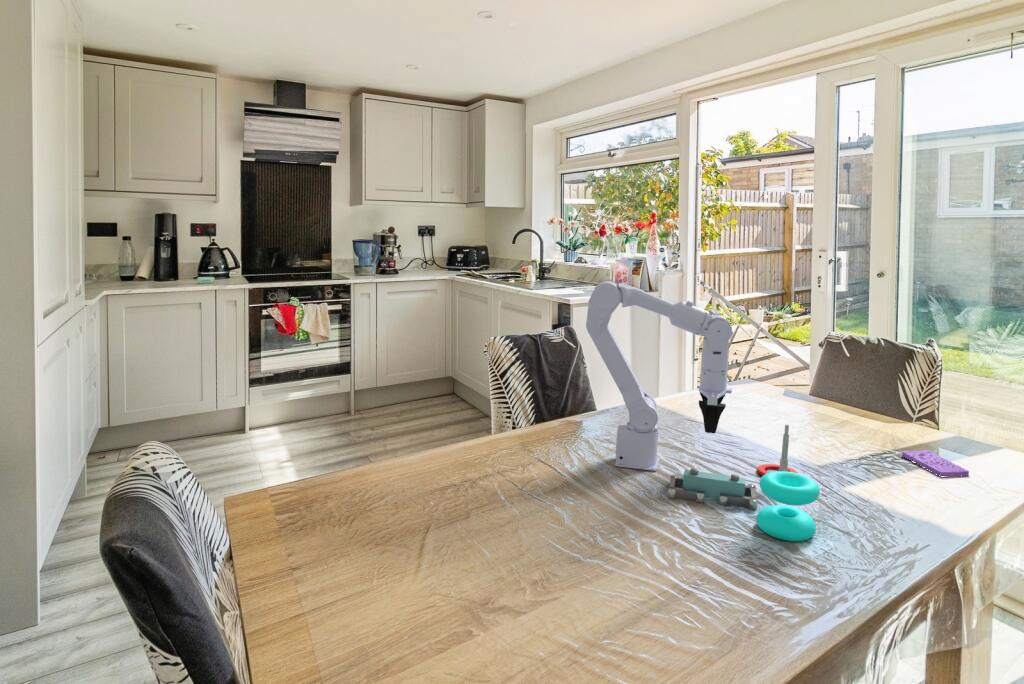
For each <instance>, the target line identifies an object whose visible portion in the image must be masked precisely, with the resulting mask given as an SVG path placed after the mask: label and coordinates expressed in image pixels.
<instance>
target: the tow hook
mask: <svg viewBox="0 0 1024 684" xmlns="http://www.w3.org/2000/svg"><path fill="white" fill-rule="evenodd" d="M789 429H790V425H789V424H785V425H784V432H783V435H782V444H781V445H782V447H781V457H780V460H779V464H773V463H766V464H760V465H758V466H757V471H756V472H757V473H758V474H759V475H760V476H761V477H762V476H763V475H765V474H767V473H769V472H770V471H768V470H776V471H786V472H793V473H797V474H799V473H798V471H797V470H795V469H794V468H792V467H789V459H788V454H789V445H790V444H789V443H790V434H789Z"/></svg>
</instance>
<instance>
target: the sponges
mask: <svg viewBox="0 0 1024 684" xmlns="http://www.w3.org/2000/svg"><path fill="white" fill-rule="evenodd" d="M902 456H903V457H902ZM901 457H902V458H904V457H906V458H908V459H910V460H912V461H914V462H916V463H917V464H919V465H921V466H923V467H925V468H926V469H928V470H930V471H932V472H933V473H935V474H937V475H940V476H955V477H969V476H970V474H969V473H970V472H969V471H970V470H969V469H966V468H964V467H961V466H960V465H958V464H956V463H953V462H952V461H950V460H948V459H946V458H944V457H943V456H941V455H938V454H936V453H935V452H933V451H931V450H930V449H926V450H925V449H924V450H918V451H917V450H909V451H908V450H907V451H906V450H905V451H903V450H902V451H901ZM906 458H905V459H906ZM917 464H916V465H917ZM919 465H918V466H919ZM926 469H925V470H926ZM928 470H927V471H928ZM930 471H929V472H930ZM932 472H931V473H932ZM933 473H932V474H933ZM935 474H934V475H935ZM937 475H936V476H937ZM961 475H962V476H961ZM940 476H939V477H940Z"/></svg>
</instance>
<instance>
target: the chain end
mask: <svg viewBox="0 0 1024 684" xmlns="http://www.w3.org/2000/svg"><path fill="white" fill-rule="evenodd" d="M667 499H669V500H676V499H682V500H690V501H695V502H696V503H698V504H704V503H705V499H706V498H705V493H704V491H699V490H692V489H684V488H683V477H679V475H677V474H671V475H670V479H669V486H668V489H667Z"/></svg>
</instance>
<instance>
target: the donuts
mask: <svg viewBox="0 0 1024 684" xmlns="http://www.w3.org/2000/svg"><path fill="white" fill-rule="evenodd" d="M768 472H769V473H767V474H765V475H763V476H762V475H761V478H760V480H759V487H760V488H759V489H760V490H761V492H762V493H763V494H764V496H765V497H768V498H769V499H770V500H772V501H775V502H777V503H780V504H771V505H768V506H765V507H763V508H761V509H760V510H759V511H758V512H757V515H756V523H757V526H758V527H759V528H760V529H761V530H762V532H764V533H765V534H767V535H769V536H771V537H773V538H776V539H779V540H783V541H789V542H802V541H806V540H809V539H811V538H812V537H813V536H814V535H815V533H816V532H817V531H816V530H817V526H816V522H815V520H814V519H813V517H811V516H810V514H808V513H806V512H805V511H803V510H801V509H799V508H797V507H794V506H806V505H809V504H811V503H815V501H816V500H818V498H819V497H820V487H819V484H817V482H815V480H813V479H812V478H810V477H808V476H806V475H803V474H801V473H798V474H797V473H793V472H786V471H777V470H776V471H768ZM783 504H784V505H783Z"/></svg>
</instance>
